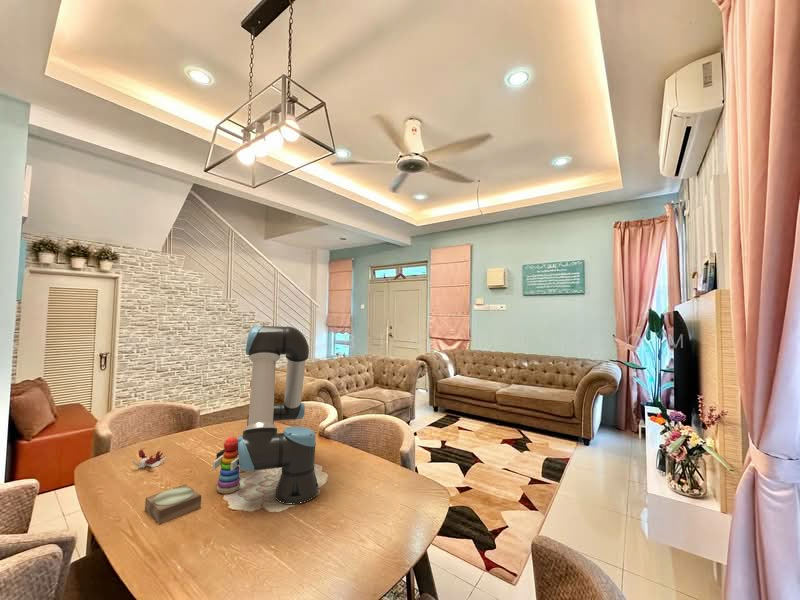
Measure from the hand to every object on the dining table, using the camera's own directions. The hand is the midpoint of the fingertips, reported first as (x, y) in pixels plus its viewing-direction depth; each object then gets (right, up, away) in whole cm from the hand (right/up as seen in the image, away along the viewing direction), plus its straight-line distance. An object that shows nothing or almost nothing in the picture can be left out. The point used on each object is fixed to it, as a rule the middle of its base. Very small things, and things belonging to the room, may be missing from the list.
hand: (222, 466), depth 122 cm
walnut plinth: (-12, -10, -9) cm, 18 cm away
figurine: (-42, -11, +21) cm, 48 cm away
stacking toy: (0, -11, +4) cm, 12 cm away
